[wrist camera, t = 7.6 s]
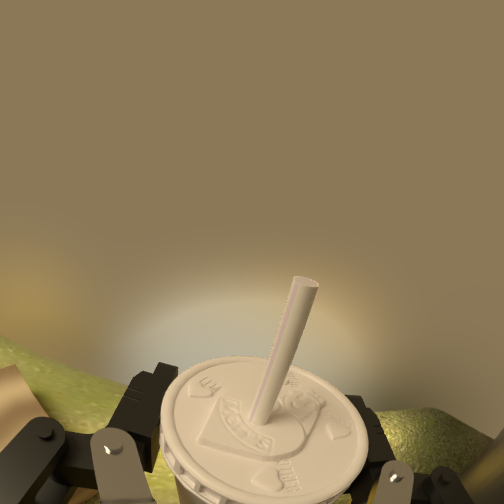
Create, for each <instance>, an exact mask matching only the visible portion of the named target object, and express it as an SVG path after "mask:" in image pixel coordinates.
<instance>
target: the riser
mask: <svg viewBox="0 0 504 504" xmlns="http://www.w3.org/2000/svg"><path fill="white" fill-rule="evenodd" d="M42 416H44V417H49V416H48V415H47V414H46V412H45V411H44V409H43V408H42V407H41V405H40V404H39V402H38V401H37V399H36V398H35V396H34V395H33V393H32V392H31V390H30V388H29V387H28V385H27V384H26V382H25V380H24V379H23V377H22V375H21V374H20V372H19V370H18V368H17V367H16V365H12V366H9V367H6V368H2V369H0V452H1V451H2V450H3V449H4V448H5V447H6V446H7V445H8V443H9V442H10V441H11V440H12V439H13V438H14V437H15V436H16V435H17V434H18V433H19V432H20V430H21V429H22V428H23V427H24V426H25V425H26V424H27V423H28V422H29V421H30V420H32V419H33V418H36V417H42ZM97 493H99V490H94V489H87V488H81V487H78V488H77V490H76V491H75V493H74V494H73V496H72V498H71V499H70V501H69V502H68V504H81V503H83V502H84V501H86V500H88V499H89V498H91V497H93V496H94V495H96V494H97Z"/></svg>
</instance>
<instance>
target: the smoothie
mask: <svg viewBox="0 0 504 504" xmlns="http://www.w3.org/2000/svg"><path fill="white" fill-rule="evenodd" d="M318 286H319V284H318V283H317V282H315V281H314V280H311V279H309V278H306V277H300V276H296V277H294V278H293V281H292V285H291V288H290V291H289V295H288V298H287V301H286V304H285V308H284V311H283V314H282V317H281V321H280V324H279V327H278V330H277V333H276V336H275V339H274V342H273V346H272V349H271V352H270V355H269V358H268V359H267V358H260V357H252V356H231V357H222V358H217V359H212V360H208V361H204V362H202V363H199V364H197V365H194V366H192V367H190V368H189V369H187V370H186V371H184V372H183V373H181V374H180V375H179V376H178V377H177V378H176V379H175V380H174V381H173V382H172V383H171V384H170V386H169V387H168V389H167V391H166V393H165V395H164V398H163V401H162V405H161V417H160V420H159V427H158V441H159V444H160V447H161V450H162V453H163V456H164V459H165V461H166V464H167V466H168V467H169V468H170V470H171V471H172V472H173V474H174V475H175V481H176V486H177V491H178V496H179V501H180V504H333V503H334V502H335V501H336V500H337V499H338V498H339V497H340V496H341V495H342V494H343V493H344V492H345V491H346V490H347V489H348V488H349V487H350V484H351V483H352V482H353V481H354V479H355V478H356V477H357V476H358V474H359V473H360V471H361V470H362V468H363V466H364V464H365V461H366V458H367V453H368V435H367V430H366V427H365V424H364V422H363V420H362V418H361V416H360V414H359V412H358V411H357V409H356V408H355V407H354V405H353V404H352V403H351V402H350V400H349V399H348V398H347V397H346V396H345V395H344V394H342V393H341V392H340V391H339V390H338V389H337V388H336V387H334V386H333V385H331V384H330V383H328V382H327V381H326V380H324V379H322V378H320V377H319V376H317V375H315V374H313V373H311V372H309V371H306V370H304V369H302V368H299V367H297V366H294V365H291V363H292V360H293V357H294V355H295V352H296V349H297V347H298V344H299V341H300V338H301V336H302V333H303V330H304V327H305V324H306V322H307V318H308V316H309V313H310V310H311V307H312V304H313V301H314V298H315V295H316V292H317V289H318Z"/></svg>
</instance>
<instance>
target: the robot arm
mask: <svg viewBox="0 0 504 504" xmlns="http://www.w3.org/2000/svg"><path fill="white" fill-rule="evenodd" d="M177 376H178V367H176V366H172V365H168V364H165V363H161V362H159V363H158V365H157V367H156V369H155V371H154V373H153V374H152V373H148V372H145V371H142V372H140V373H139V374H137V375H136V376H135V377H133V379H132V380H131V382H130V384H129V386H128V389H127V390H126V391H125V393H124V396H123V397H122V399H121V401H120V403H119V404H118V406H117V408H116V410H115V412H114V414H113V416H112V418H111V420H110V422H109V423H108V425H107V426H106V427H105V428H103V429H100V430H98V431H97V432H95V433H94V434H81V433H74V432H68V431H65V430H64V428H63V427H62V425H61V424H60V423H59V422H58V421H56V420H54V419H53V418H50V417H44V416H42V417H36V418H33V419H32V420H30V421H29V422H28V423H27V424H26V425H25V426H24V427H23V428H22V429H21V430H20V432H19V433H18V434H17V435H16V436H15V437H14V438H13V439H12V440H11V441H10V442H9V443H8V445H7V446H6V447H5V448H4V449H3V450H2V451H1V452H0V504H68V502H69V501H70V499H71V498H72V496H73V494H74V493H75V491H76V490H77V488H78V487H81V488H87V489H94V490H99V495H100V500H101V502H100V504H157V503H156V501H155V499H153V497H152V495H151V492H150V489H149V486H148V483H147V480H146V477H145V474H144V471H146V472H149V473H152V472H153V468H154V465H155V462H156V459H157V455H158V452H159V449H160V444H159V441H158V427H159V420H160V417H161V405H162V401H163V398H164V395H165V393H166V391H167V389H168V387H169V386H170V384H171V383H172V382H173V381H174V380H175V379H176V378H177ZM345 396H346V397H347V398H348V399H349V400H350V402H351V403H352V404H353V405H354V407H355V408H356V409H357V411H358V412H359V414H360V416H361V418H362V420H363V422H364V424H365V427H366V430H367V435H368V453H367V458H366V461H365V464H364V466H363V468H362V470H361V471H360V473H359V474H358V476H357V477H356V478H355V479H354V481H353V482H352V483H351V484H350V487H349V488H348V489H347V490H346V491H345V492H344V493H343V494H349V493H350V494H351V499H350V500H349V501H348V502H347V504H504V428H503V430H502V431H501V432H500V433H499V435H498V436H497V437H496V438H495V440H494V441H493V442H492V443H491V444H490V445H489V447H488V448H487V449H486V450H485V451H484V452H483V453H482V455H481V456H480V457H479V458H478V459H477V460H476V461H475V462H474V463H473V464H472V465H471V466H470V467H469V468H468V469H467V470H466V471H465V472H464V473H463V474H462V475H461V476H460V477H459V478H458V477H457V475H456V474H455V472H454V471H453V470H451V469H450V468H448V467H443V466H441V467H437V468H435V469H434V470H433V471H432V472H431V473H430V474H420V473H413V471H412V469H411V468H410V467H409V466H408V465H407V464H406V463H404V462H401V461H397V460H396V459H395V456H394V454H393V451H392V449H391V447H390V444H389V442H388V440H387V437H386V435H385V434H384V430H383V428H382V427H381V424H380V421H379V419H378V417H377V415H376V414H375V413H374V412H373V411H372V410H371V409H370V408H366V406H365V404H364V402H363V399H362V397H361V396H355V395H345Z"/></svg>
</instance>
